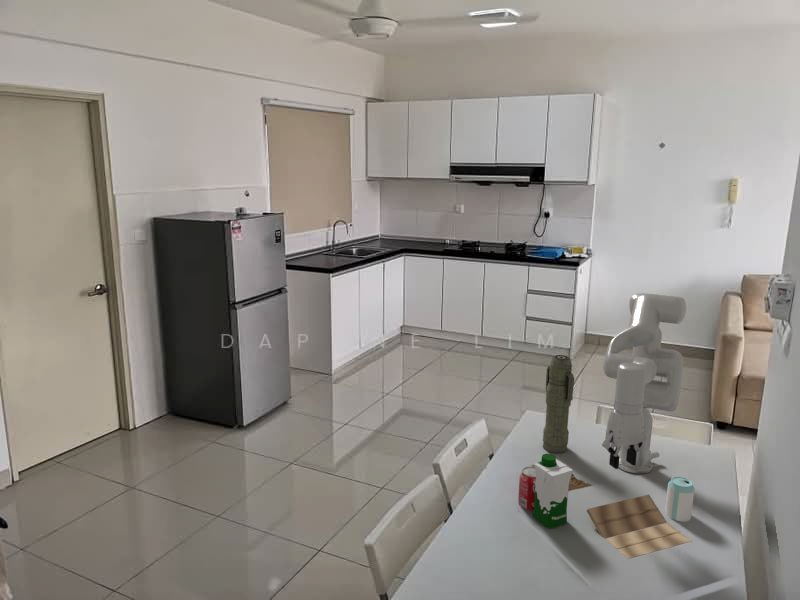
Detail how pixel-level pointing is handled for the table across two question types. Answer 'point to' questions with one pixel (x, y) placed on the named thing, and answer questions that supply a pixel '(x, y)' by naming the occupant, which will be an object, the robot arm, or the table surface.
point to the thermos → (558, 404)
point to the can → (679, 499)
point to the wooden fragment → (575, 483)
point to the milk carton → (551, 491)
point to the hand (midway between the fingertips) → (622, 464)
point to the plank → (625, 516)
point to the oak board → (648, 540)
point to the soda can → (527, 488)
